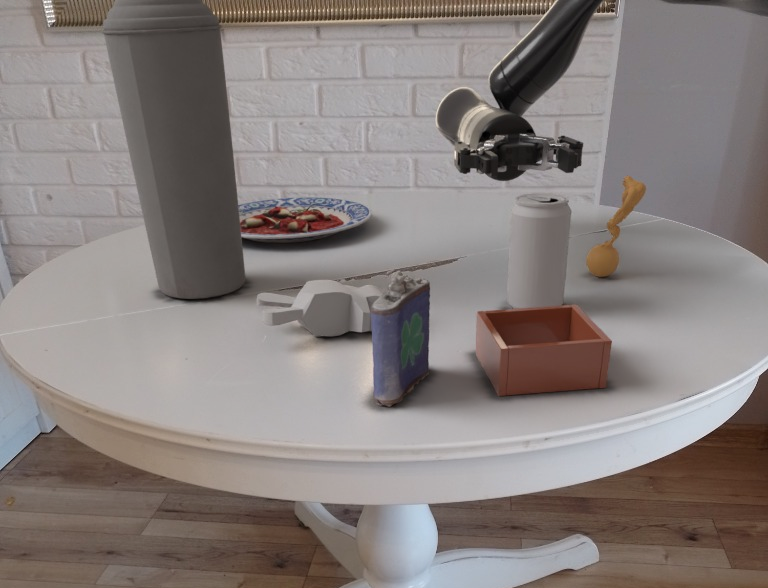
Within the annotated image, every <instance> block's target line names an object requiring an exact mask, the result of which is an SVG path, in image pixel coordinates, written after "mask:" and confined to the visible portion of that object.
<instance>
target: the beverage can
mask: <svg viewBox="0 0 768 588" xmlns="http://www.w3.org/2000/svg"><path fill="white" fill-rule="evenodd" d="M514 202H515V204H514V205H513V207H512V209H511V211H510V212H511V213H510V228H509V229H510V231H509V248H508V249H509V250H508V268H507V272H508V273H507V289H506V302H507V304H508V305H509V306H510V307H512V309H519V308H533V307H547V306H562V305H563V304H564V299H565V287H566V278H567V277H566V276H567V265H568V254H569V253H568V251H569V242H570V232H571V222H572V220H571V219H572V208H571V207H570V205H569V202H570V198H569V197H568V196H567V195H565V194H560V193H551V192H540V193H539V192H534V193H533V192H532V193H526V194H520V195H518V196H516V197H515V200H514Z"/></svg>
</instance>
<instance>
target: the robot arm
mask: <svg viewBox="0 0 768 588" xmlns="http://www.w3.org/2000/svg"><path fill="white" fill-rule="evenodd" d="M604 1H605V0H555V1H554V2H553V4H552V5H551V6H550V7H549V9H548V10H547V11H546V13H545V14H544V15H543V16H542V17H541V19H540V20H539V21H538V22H537V23H536V24H535V25H534V26H533V27H532V28H531V30H529V32H528V33H527V34H526V35H525V36H523V38H522V39H521V40H520V41H519V42H518V43H517V44H516V45H515V46H514V47H513V48H511V49H510V51H509V52H508V53H507V54H506V55H505V56H504V57H503V58H501V60H500V61H499V62H498V63H497V64H496V65H494V67H493V68H492V69H491V71H490V73H489V75H488V87H489V90H490V92H491V94H492V96H493V98H494V100H495V102H496V104H497V106H498V107H495V106H493V105H491V103H488V102H487V101H486V99H485V98H483V97H482V96H481V95H480V94H479V93H478V92H477V91H476V90H475V89H473V88H472V87H469V86H460V87H456V88H455V89H453V90H451V91H449V92H448V94H446V95H445V96H444V97H443V98H442V100H441V101H440V103H439V105H438V107H437V110H436V113H435V125H436V128H437V130H438V132H439V133H440V134H441V135H442V136H443V137H444V138H445V139H446V140H447V141H448V142H449V143H450V144H451V145H452V146H453V147H454V153H453V154H454V156H453V157H454V162H453V164H454V165H453V166H454V167H455V168H456V170H457V171H458V172H459V173H460V174H463V175H468V174H470V173H471V169H475V170H476V173H477V174H479V175H485V176H487V177H488V178H490V179H492V180H495V181H498V182H507V181H513V180H515V179H517V178H519V177H521V176H522V175H523V174H525V173H526V171H529V170H533V171H541V172H545V171H548V170H552V169H553V168H554V169H558V170H560V171H562V172H563V173H565V174H573V173H574V171H575V169H577V168H579V167H582V163H583V161H582V158H583V148H584V142H582V141H580V140H577V139H574V138H572V137H569V136H566V135H560V136H558V137H557V140H555V139H554V137H550V136H540V135H536V132H535V130H534V128H533V126H532V125H531V123H530V122H529V121H528V120H527V119H526V118H524V117H523V116H524V115H525V113H526V112H527V111H528V110H529V109H530V108H531V106H533V105H534V104H535V103H536V102H537V101H538V100H539V99H540V98H541V97H543V96H544V95H545V94H546V93H547V92H548V91H549V90H550V89H551V88H552V87H553V86H555V85H556V84H557V83H558V82H559V81H560V79H561V78H562V77H563V76H564V75H565V74H566V72H567V71H568V69H569V68H570V66H571V65H572V63H573V61H574V60H575V58H576V56H577V54H578V51H579V49H580V46H581V44H582V41H583V38H584V36H585V33H586V32H587V29H588V26H589V24H590V22H591V20H592V18H593V17H594V16H595V13H596V11H597V10H598V8H600V6H601V5H602V3H604ZM656 1H657V2H660V3H664V4H671V5H687V6H707V7H708V6H710V7H720V8H727V9H731V10H733V11H737V12H740V13H743V14H747V15H751V16H755V17H759V18H764V19H767V20H768V0H656ZM554 156H555V159H554ZM539 162H541V163H539Z"/></svg>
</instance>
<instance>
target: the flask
mask: <svg viewBox="0 0 768 588" xmlns="http://www.w3.org/2000/svg"><path fill="white" fill-rule="evenodd" d="M388 276H390V283H389V284H388V286H387V287H388V290H386V291H385V292H384V293H383V295H381V296H380V297H379V298H378V299H377V300H376V301H375V302H374V303H373V305H372V307H371V324H372V332H371V340H372V342H371V343H372V361H373V362H372V363H373V365H372V366H373V367H372V376H373V377H372V378H373V379H372V380H373V399H374V402H375V404H376V405H377V406H387V407H388V408H389V407H392V406H393V405H395V404H399V403H401V402H402V401H403V400H404V397H405V396H406V395H408V394H410V393H411V392H413V390H414V387H415V385H419V382H420V381H421V380H424V379H425V378H426V377H427V376H428V375H429V374H430V368H429V367H430V366H429V365H430V363H429V356H430V355H429V353H430V346H429V345H430V310H431V300H430V298H431V283H430V281H429V280H428V279H425V278H420V277H415V276H414V277H409V275H408V274H407V273H406V274H404V273H403V272H402V271H401V270H397V271H396V269H390V270H388V271H387V272H386V273H385V276H384V278H385V279H387V278H388Z"/></svg>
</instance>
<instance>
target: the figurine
mask: <svg viewBox="0 0 768 588" xmlns="http://www.w3.org/2000/svg"><path fill="white" fill-rule="evenodd" d="M621 183H622V185H623V186H624V190H623V192H622V195H621V202H622V203H621V204H622V205H621V206H620V208H619V209H617V211H616V212H615V214H613V217H611V218H610V219H609V220H608V221H607V222H606V229H607V230H608V232H609V234H610V236H612V237H611V239H609V240H605V241H604V242H602V243H599V244H596V245H594V246H593V247H591V248H590V250H589V252H588V253H587V255H586V260H585V263H586V264H585V265H586V267H587V270H588V271H589V272H590V273H591V274H592V275H593V276H596V277H598V278H604V277H607V276H610V275H611V274H613V273H614V272H615V271H616V270H617V268H618V266H619V265H620V264H619V263H620V254H619V252H618V249H617V248H616V247H615V246H613V244H614V243H615V242H616V240H617V239H618V238H619V237H620V233H621V227H620V226H619V224H620V223H622V222H623V221H624V220H626V218H627V217H628V216H629V215H630V214H631V213H633V211H634V209H635V207H636V206H637V205H638V204H639V203H640V202H641V201H642V199H643V197H644V196H645V194H646V191H647V186H646V184H645V183H644V182H642V181H638V180H636V179H634V178H633V177H632V176H630V175H625V176H624V177H623V181H622V182H621Z"/></svg>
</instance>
